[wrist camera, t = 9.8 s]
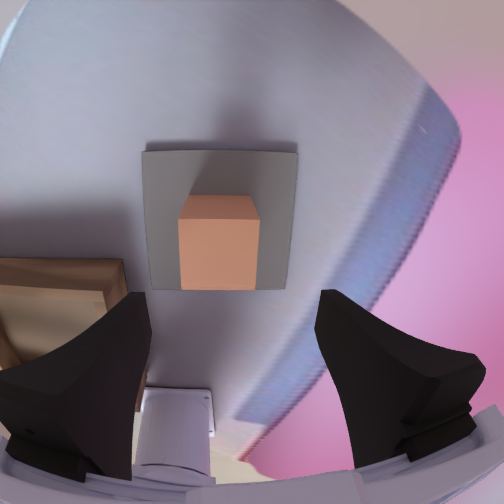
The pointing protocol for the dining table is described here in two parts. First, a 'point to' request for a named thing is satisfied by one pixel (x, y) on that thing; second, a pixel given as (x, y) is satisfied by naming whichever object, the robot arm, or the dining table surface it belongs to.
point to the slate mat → (218, 183)
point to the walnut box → (54, 304)
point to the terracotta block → (218, 242)
